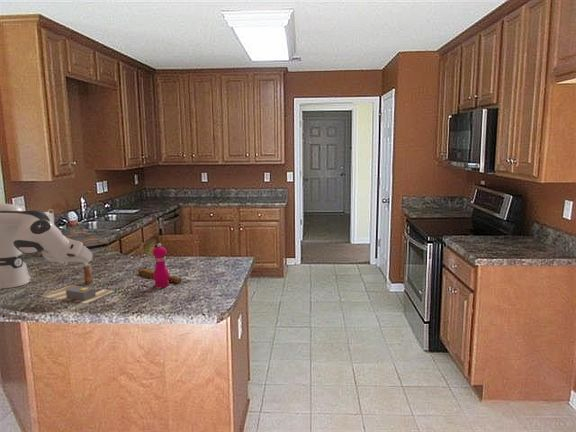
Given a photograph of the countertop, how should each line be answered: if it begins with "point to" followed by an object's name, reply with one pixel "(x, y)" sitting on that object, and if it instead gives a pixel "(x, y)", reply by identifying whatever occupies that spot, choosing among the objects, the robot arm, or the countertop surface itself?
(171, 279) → the tap handle
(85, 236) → the serving board
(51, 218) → the skyscraper
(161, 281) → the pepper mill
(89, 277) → the awl
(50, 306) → the countertop surface
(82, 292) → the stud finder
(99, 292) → the subfloor panel
